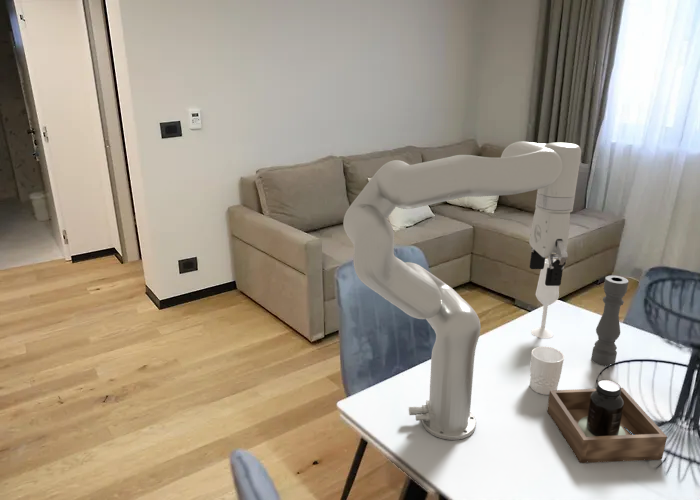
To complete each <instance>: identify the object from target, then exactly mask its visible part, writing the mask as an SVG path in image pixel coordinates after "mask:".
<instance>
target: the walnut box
mask: <svg viewBox="0 0 700 500" xmlns="http://www.w3.org/2000/svg"><path fill="white" fill-rule="evenodd" d="M595 390H596V388H582V389H557V390H550V393H549V395H548V401H547V408H546V412H547V414H548V415H549V417H550V418H551V420H552V422H553V423H554V424H555V427H556V428H557V429H558V431H559V433H560V434H561V436H562V437H563V439H564V441H565V442H566V443H567V445H568V447H569V448H570V450H571V451H572V453H573V455H574V456H575V458H576V459H577V461H578V462H579V464H585V463H586V464H592V463H616V462H618V463H619V462H637V461H638V462H639V461H662V459H663V455H664V452H665V447H666V444H667V439H668V436H667V435H666V434H665V432H663V430H662V429H661V428H660V427H659V426H658V424H656V422H655V421H654V420H653V419H652V418H651V417H650V416H649V415H648V414H647V413H646V411H644V410H643V408H642V407H641V406H640V405H639V404H638V403H637V402H636V401H635V400H634V399H633V397H632V396H631V395H630V394H629V393H628V392H627V390H625V388H624V387H621V392H620V393H621V394H620V396H621V397H622V399H623V402H624V405H623V411H622V417H621V423H620V429H619V434H618V435H617V436H594V435H593V434H591V433H590V432H589V431H588V429H587V426H586V425H587V417H588V410H589V403H590V396H591V394H592V393H593V392H594V391H595ZM624 427H625V428H627V429H628V430H629V431H631V432H632V433H633V434H635V435H632V434H630V433H629V432H628V431H627V430H626V429H625V428H624Z"/></svg>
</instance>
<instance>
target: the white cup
mask: <svg viewBox="0 0 700 500" xmlns="http://www.w3.org/2000/svg"><path fill="white" fill-rule="evenodd" d="M530 354H531V356H530V370H529V371H530V372H529V373H530V380H529V381H530V382H529V386H530V387H529V388H531V390H532V391H534V392H535V393H537V394H539V395H540V394H541V395H544V396H545V395H546V396H549V393H550V390H558V387H559V383H560V379H561V374H562V372H563V371H562V370H563V366H564V365H563V364H564V361H565V355H564V354H563V352H561V350H558V349H557V348H554V347H549V346H536V347H535V348H533V349H532V350H531V353H530Z"/></svg>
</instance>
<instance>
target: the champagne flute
mask: <svg viewBox="0 0 700 500" xmlns="http://www.w3.org/2000/svg"><path fill="white" fill-rule="evenodd" d="M555 260H556V258H553V263H554V262H555ZM547 268H549V262H548V258H545V264H544V268H543V269H540V271H539V276H538V280H537V286H536V290H535V297H536V299H537V301H538V302H540V303H541V304H542V305H543V309H542V315H541V316H542V317H541V325H540V327H536V328H532V330H531V331H530V333H531V334H532V335H533V336H534V337H536V338H540V339H551V338H553V337H554V332H552V331H551V330H550V329H548V328H546V324H547V321H546V320H547V316H548V314H547V313H548V306H551V305H552V304H554V303H556V301H558V299H559V296H560V293H559V292H560V286H546V285H545V280H546V273H547Z"/></svg>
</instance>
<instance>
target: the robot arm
mask: <svg viewBox="0 0 700 500" xmlns="http://www.w3.org/2000/svg"><path fill="white" fill-rule="evenodd" d="M581 156H582V149H581V146H580V145H578V144H576V143H569V142H560V141H559V142H549V143H540V142H538V143H537V142H533V141H532V142H531V141H530V142H529V141H523V140H522V141H515V142H513V143H510V144H509V145H508V146H506V147H505V148H504V150H503V151H502V152H501V155H500V157H491V156H490V157H489V156H478V155H473V154H472V155H471V154H457V155H452V156H448V157H442V158H438V159H434V160H430V161H429V160H428V161H424V162H423V161H422V162H419V163H415V164H414V163H413V164H409V163H407V162H405V161H403V160H399V159H395V160H394V159H393V160H391V161H387V162H386V163H384V164H383V165H382V166H381V167H380V168H378V169H377V171H376V172H375V174H374V175H373V176H372V177H371V178H370V180H369V181H368V182H367V183H366V185H365V186H364V187H363V188H362V190H361V191H360V192H359V194H358V195H357V197H356V198H355V199H354V200H353V201H352V203H351V204H350V205H349V207H348V209H347V210H346V212H345V214H344V216H343V229H344V232H345V234H346V235H347V237H348V239H349V240H350V242H351V243H352V245H353V258H352V259H353V268H354V272H355V274H356V276H357V278H358V279H359V281H361V283H363V284H364V285H365V286H366V287H367V288H369V289H370V290H372V291H373V292H375V293H376V294H378V295H379V296H380V297H382V298H383V299H385V300H386V301H387V302H389V303H391V304H392V305H393V306H395V307H397V308H398V309H399V310H401V311H402V312H403V313H405V314H406V315H408V316H410V317H411V318H414V319H417V320H418V319H419V320H426V321H427V322H428V324H429V325H430V326H431V328H432V329H433V330H434V333H435V342H434V344H433V347H432V350H431V356H430V357H431V359H430V376H429V377H430V380H429V382H430V383H429V398H428V399H429V400H426V401H425V404H422V405H421V406H409V407H408V415H409V416H415V421H421V425H422V426H423V428H424V429H425V430H426V431H427V432H428V433H430V434H431V435H432V436H434V437H437V438H440V439H444V440H450V441H451V440H452V441H454V440H455V441H457V440H462V439H465V438H468V437H469V436H471V435H472V434H473V433H474V431H475V430H476V428H477V427H476V426H477V421H476V418H475V415H474V414H473V413H472V412H471V404H472V390H473V378H474V366H475V356H476V349H477V345H478V342H479V338H480V335H481V322H480V321H481V320H480V317H479V316H478V314H477V312H476V311H475V309H474V308H473V306H471V304H470V303H468V302H467V301H466V300H465V299H464V298H462V296H461V295H460V294H459V292H457V291H456V290H455V289H453V287H451V286H450V285H448V284H447V283H445V282H444V281H442V279H440V278H438V277H437V276H436V275H434V274H433V273H431V272H429V271H428V270H427V269H425V267H422V266H421V265H420V264H418V263H414V262H410V261H407V262H404V261H403V260H402V259H400V258H398V257H396V255H395V251H394V250H395V249H394V247H395V231H394V228H393V225H392V224H391V222H390V221H389V220H388V218H389V217H390V215H391V214H392V213H393V211H394V210H395V209H396V207H397V208H399V209H401V210H402V209H403V210H411V209H412V210H413V209H417V208H421V207H427V206H431V205H434V204H439V203H443V202H449V201H453V200H457V199H463V198H467V197H468V198H469V197H474V198H478V197H480V198H481V197H493V196H510V195H511V196H512V195H517V194H518V195H519V194H522V193H527V192H528V193H529V192H532V191H536V190H537V192H536V200H535V210H534V214H533V217H532V221H531V229H530V234H529V241H528V242H529V243H528V244H529V245H530V247H531V253H530V260H529V269H530V270H541V269H543V268H544V264H545V259H546V258H547V259H548V262H549V268H547V273H546V280H545V285H546V286H559V287H560V286H561V284H562V279H563V271H564V269H565V265H566V262H567V260H568V257H569V254H568V252H567V251H568V244H569V237H570V236H569V235H570V225H571V224H570V222H571V220H570V219H571V213H572V212H573V211H574V210H573V209H574V205H575V199H576V192H577V191H576V190H577V185H578V176H579V172H580V171H579V169H580V165H581V159H582V157H581ZM553 259H555V262H554V263H553Z"/></svg>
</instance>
